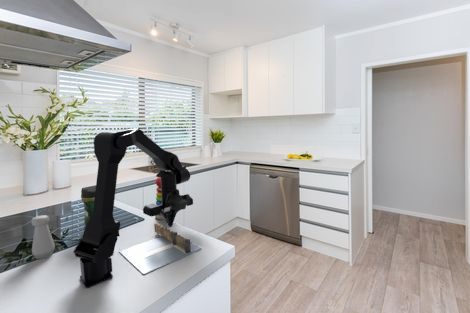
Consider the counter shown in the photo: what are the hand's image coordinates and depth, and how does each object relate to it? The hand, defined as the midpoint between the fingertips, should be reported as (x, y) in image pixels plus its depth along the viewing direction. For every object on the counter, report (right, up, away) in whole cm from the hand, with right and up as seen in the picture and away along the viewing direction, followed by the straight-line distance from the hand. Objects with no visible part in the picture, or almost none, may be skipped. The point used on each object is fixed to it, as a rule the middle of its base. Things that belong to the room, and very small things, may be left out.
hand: (170, 226), depth 94 cm
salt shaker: (-36, -5, -16) cm, 40 cm away
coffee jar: (-28, -3, +2) cm, 29 cm away
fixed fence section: (+7, -4, -12) cm, 14 cm away
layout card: (0, -4, -13) cm, 14 cm away
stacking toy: (-7, -1, +17) cm, 19 cm away
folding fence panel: (-1, -2, -4) cm, 5 cm away
